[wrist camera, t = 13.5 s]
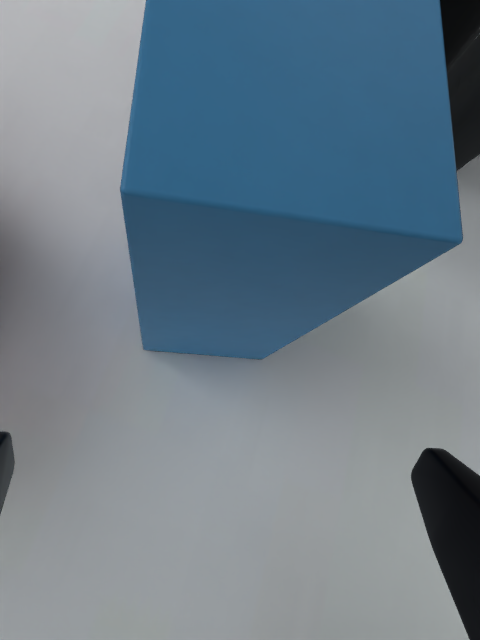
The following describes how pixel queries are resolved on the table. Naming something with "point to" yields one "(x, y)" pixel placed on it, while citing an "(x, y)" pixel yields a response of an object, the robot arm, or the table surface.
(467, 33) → the milk frother
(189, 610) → the table surface
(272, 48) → the blue rectangular block
